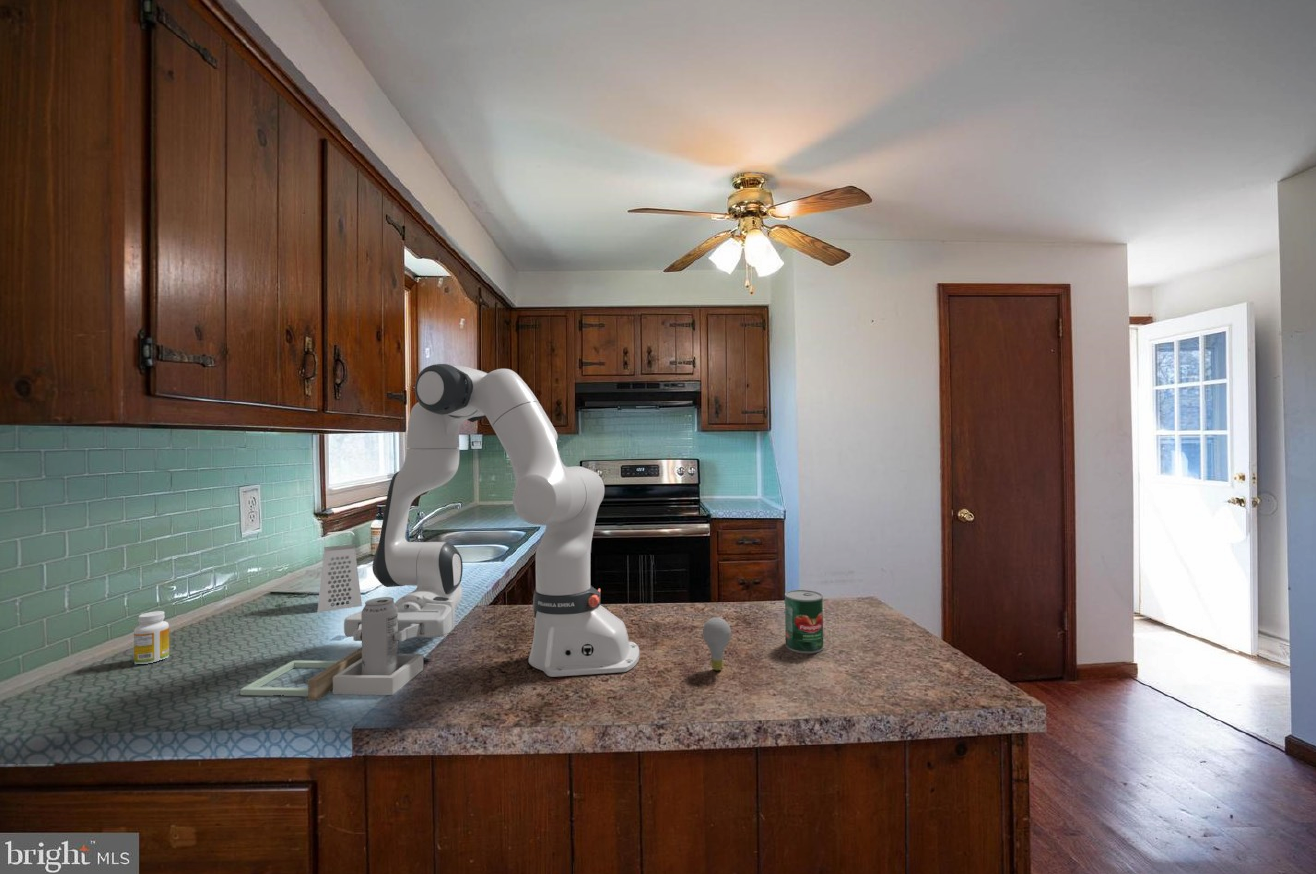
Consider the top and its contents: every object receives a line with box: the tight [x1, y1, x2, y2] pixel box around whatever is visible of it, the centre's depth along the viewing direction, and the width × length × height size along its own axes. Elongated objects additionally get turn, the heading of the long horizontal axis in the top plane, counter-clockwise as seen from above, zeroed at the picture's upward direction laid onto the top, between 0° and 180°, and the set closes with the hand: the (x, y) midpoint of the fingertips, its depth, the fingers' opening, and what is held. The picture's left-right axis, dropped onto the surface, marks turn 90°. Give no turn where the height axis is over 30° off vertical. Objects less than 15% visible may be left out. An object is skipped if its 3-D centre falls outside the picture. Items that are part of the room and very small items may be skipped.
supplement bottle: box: [133, 610, 170, 665], centre depth 115 cm, size 5×5×10 cm
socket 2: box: [332, 653, 424, 696], centre depth 103 cm, size 11×11×3 cm
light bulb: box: [702, 617, 732, 672], centre depth 106 cm, size 6×6×10 cm
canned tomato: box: [784, 589, 825, 654], centre depth 118 cm, size 8×8×11 cm
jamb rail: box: [307, 646, 362, 701], centre depth 104 cm, size 2×16×4 cm, turn 176°
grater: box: [316, 530, 363, 613], centre depth 154 cm, size 10×10×20 cm
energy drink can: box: [361, 596, 399, 675], centre depth 103 cm, size 6×6×15 cm
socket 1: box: [239, 659, 339, 697], centre depth 104 cm, size 13×13×1 cm
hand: (377, 637), depth 102 cm, fingers open, 6 cm apart
